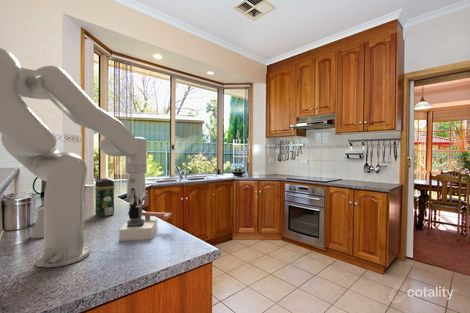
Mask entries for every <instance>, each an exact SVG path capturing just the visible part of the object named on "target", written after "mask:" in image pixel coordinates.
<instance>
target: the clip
mask: <svg viewBox="0 0 470 313" xmlns="http://www.w3.org/2000/svg"><path fill="white" fill-rule="evenodd" d="M127 212H128V214H127V215H128V216H129V211H127ZM172 214H173V213H172V212H157V211H156V212H155V211H154V212H153V211H142V217H145V216H150V217H161V218H162V219H163V220H168V219H169V218H171V217H172Z"/></svg>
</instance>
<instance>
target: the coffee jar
mask: <svg viewBox="0 0 470 313" xmlns="http://www.w3.org/2000/svg"><path fill="white" fill-rule="evenodd" d="M94 190H95V191H94V192H95V198H94V199H95V206H94V207H95V215H96V216H97V217H99V218H101V217H110V216H113V215H114V214H115V181H114V180H112V179H109V178H107V177H105V178H98V179H97V180H95V189H94Z"/></svg>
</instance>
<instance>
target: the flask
mask: <svg viewBox="0 0 470 313" xmlns="http://www.w3.org/2000/svg"><path fill="white" fill-rule="evenodd" d="M36 212H37V217H36V221H35V224H34V226H33V228H32V230H31V232H30V235H29V238H31V239H44V209H39V210H38V209H37V210H36Z"/></svg>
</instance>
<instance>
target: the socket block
mask: <svg viewBox="0 0 470 313" xmlns="http://www.w3.org/2000/svg"><path fill="white" fill-rule="evenodd" d="M141 219H144V224H142V225H141V226H138V227H130V226H129V225H127V221H129V220H130V218H129V219H128V220H127V221H126V222H125V223H124V225H123V226H122V227H120V229H119V237H118V238H119V242H121V241H122V242H123V241H141V240H142V241H143V240H152V239H153V237H154V234H155V232H156V230H157V228H158V217H151V216H144V218H143V217H141Z"/></svg>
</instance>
